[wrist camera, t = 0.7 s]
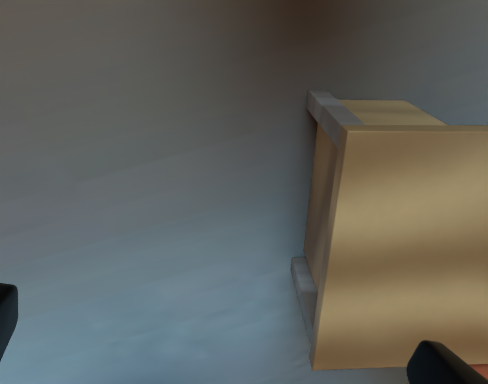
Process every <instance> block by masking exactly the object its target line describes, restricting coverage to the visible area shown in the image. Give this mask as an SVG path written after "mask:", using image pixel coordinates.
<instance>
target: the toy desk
mask: <svg viewBox="0 0 488 384" xmlns="http://www.w3.org/2000/svg"><path fill="white" fill-rule="evenodd" d="M306 108H307V109H308V111H309V112H310V113H311V115H312V116H313V117H314V118H315V120H316V121H317V122H318V126H317V135H316V144H315V153H314V162H313V171H312V180H311V189H310V198H309V206H308V215H307V224H306V233H305V242H304V253H305V256H306V257H295V258H292V260H291V273H292V277H293V280H294V284H295V288H296V292H297V295H298V299H299V303H300V306H301V310H302V314H303V318H304V321H305V325H306V329H307V333H308V336H309V340H310V344H311V347H310V354H309V359H310V363H311V367H312V370H335V369H362V368H389V367H407V364H408V362H409V360H410V358H411V356H412V355H413V353H414V351H415V349H416V348H417V346H418V344H419V343H420V342H421V341H423V340H430V341H437V342H440V343H442V344H443V345H445V346H446V347H447V348H448V349H450V350H451V351H452V352H453V353H455V354H456V355H457V356H458V357H460V358H461V359H462V360H463V361H465V362H466V363H467V364H488V125H447V124H445V123H443V122H441V121H440V120H438V119H436V118H435V117H433V116H431V115H429V114H428V113H426V112H424V111H422V110H421V109H419V108H417V107H415V106H414V105H412V104H410V103H408V102H407V101H405V100H337V99H336V98H335V97H334V96H333V95H331V94H330V93H329V92H328V91H327V90H308V97H307V107H306Z"/></svg>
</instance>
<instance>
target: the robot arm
mask: <svg viewBox="0 0 488 384" xmlns="http://www.w3.org/2000/svg"><path fill="white" fill-rule="evenodd" d="M17 320H18V290H17V287H16V286H15V285H11V284H4V283H0V361H1V359H2V356H3V354H4V352H5V350H6V347H7V345H8V343H9V341H10V338H11V336H12V334H13V332H14V329H15V327H16V324H17ZM407 376H408V380H409V384H488V380H487V379H486V378H485V377H483V376H482V375H481V374H480V373H478V372H477V371H476V370H475V369H473V368H472V367H471V366H470V365H468V364H467V363H466V362H465V361H463V360H462V359H461V358H460V357H458V356H457V355H456V354H455V353H453V352H452V351H451V350H450V349H448V348H447V347H446V346H445V345H443V344H442V343H440V342H437V341H430V340H423V341H421V342H420V343H419V344H418V346H417V348H416V349H415V351H414V353H413V355H412V356H411V358H410V360H409V362H408V364H407Z"/></svg>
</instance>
